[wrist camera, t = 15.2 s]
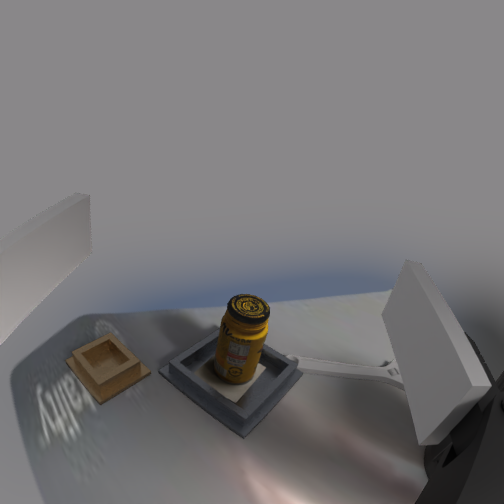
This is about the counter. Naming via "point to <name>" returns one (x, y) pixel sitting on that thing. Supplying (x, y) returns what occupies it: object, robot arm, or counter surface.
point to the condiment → (238, 347)
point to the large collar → (252, 401)
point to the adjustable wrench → (350, 370)
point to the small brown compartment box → (106, 367)
